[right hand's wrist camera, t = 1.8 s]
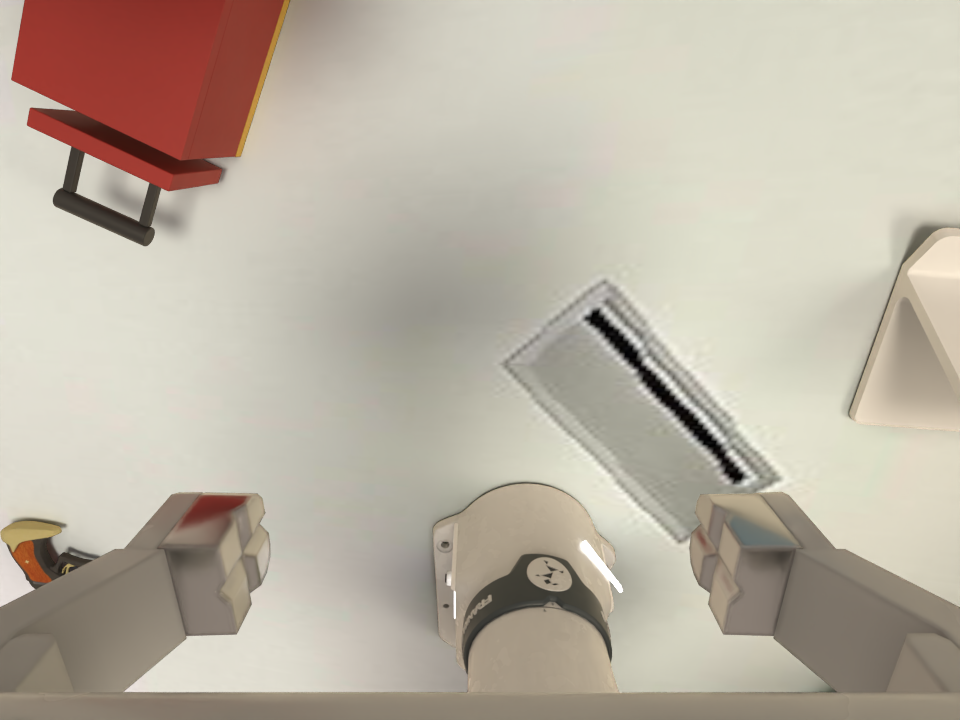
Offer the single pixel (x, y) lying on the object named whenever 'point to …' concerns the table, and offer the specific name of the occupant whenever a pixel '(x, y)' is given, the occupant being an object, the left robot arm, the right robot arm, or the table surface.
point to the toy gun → (37, 551)
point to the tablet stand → (918, 344)
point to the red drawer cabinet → (154, 66)
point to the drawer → (122, 155)
